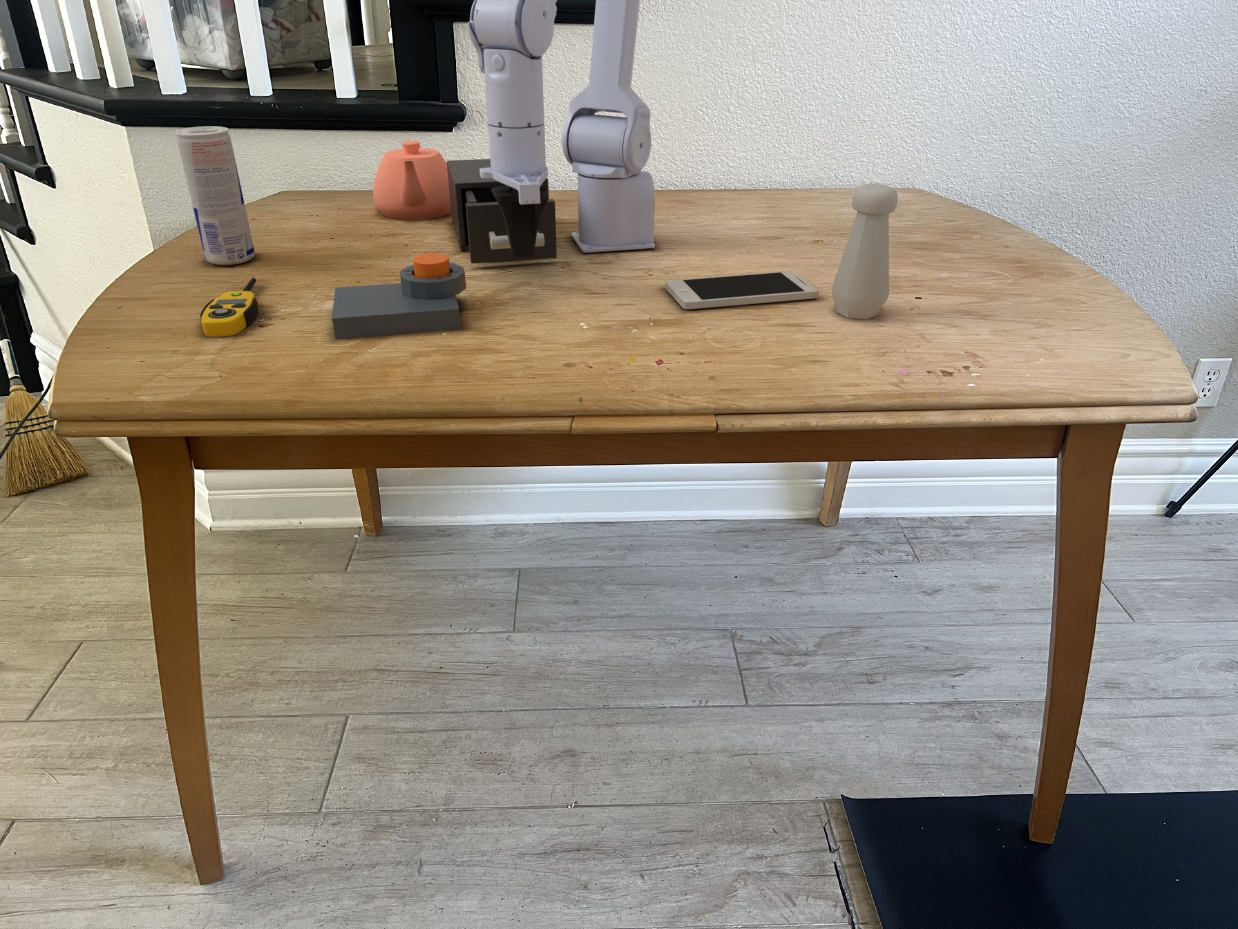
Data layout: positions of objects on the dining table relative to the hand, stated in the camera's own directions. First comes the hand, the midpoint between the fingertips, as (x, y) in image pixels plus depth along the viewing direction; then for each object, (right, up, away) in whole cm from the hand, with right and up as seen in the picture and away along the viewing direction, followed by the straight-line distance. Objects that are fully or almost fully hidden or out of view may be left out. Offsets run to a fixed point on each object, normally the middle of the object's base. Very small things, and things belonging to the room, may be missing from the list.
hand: (522, 255), depth 94 cm
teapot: (-18, +13, +30) cm, 37 cm away
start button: (-9, -3, -6) cm, 11 cm away
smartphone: (+24, -4, +1) cm, 24 cm away
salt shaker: (+36, -7, -4) cm, 37 cm away
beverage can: (-36, +2, +10) cm, 38 cm away
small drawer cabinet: (-5, +8, +20) cm, 22 cm away
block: (-12, -8, -6) cm, 16 cm away
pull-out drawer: (-3, +3, +11) cm, 12 cm away
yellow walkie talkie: (-29, -7, -5) cm, 30 cm away
